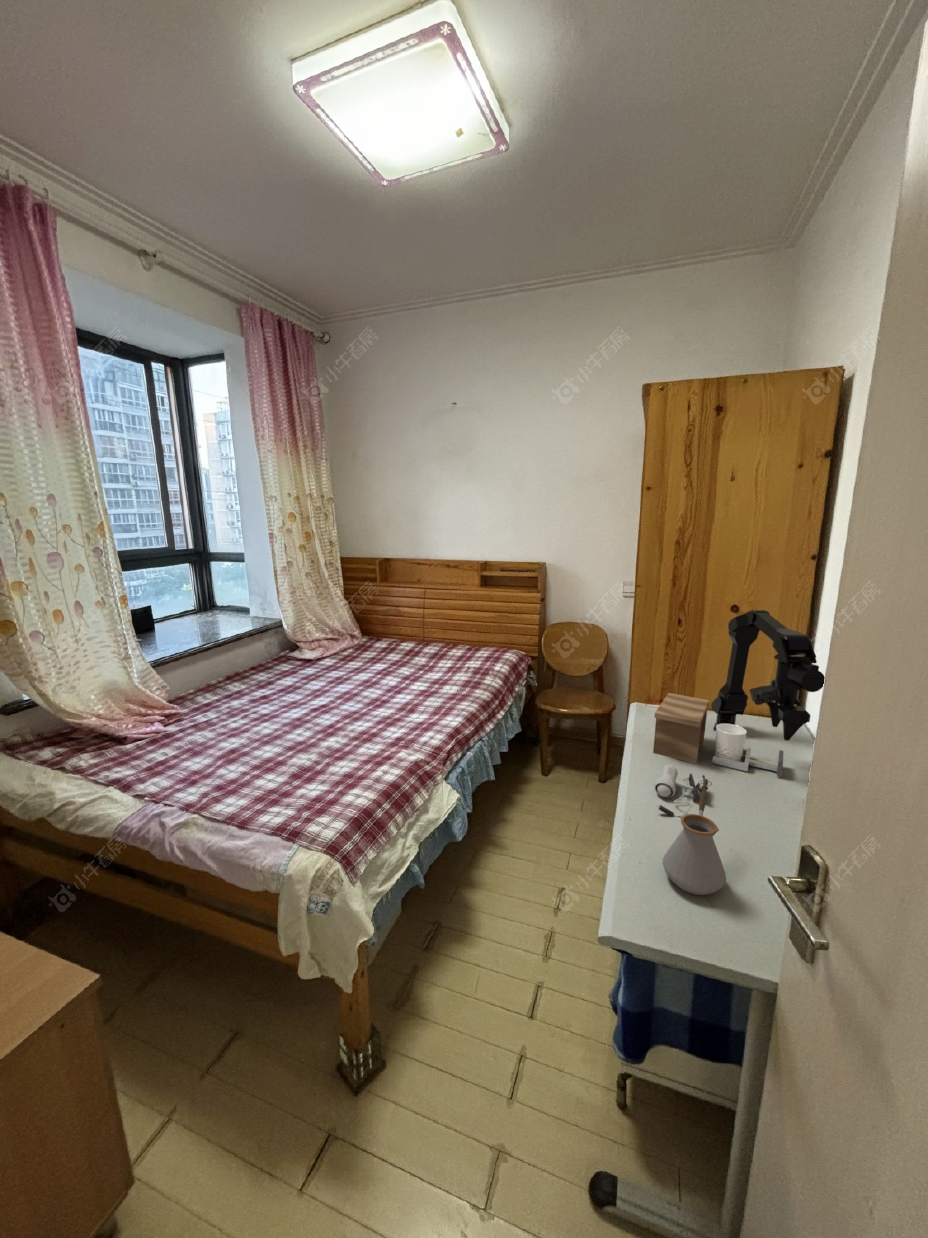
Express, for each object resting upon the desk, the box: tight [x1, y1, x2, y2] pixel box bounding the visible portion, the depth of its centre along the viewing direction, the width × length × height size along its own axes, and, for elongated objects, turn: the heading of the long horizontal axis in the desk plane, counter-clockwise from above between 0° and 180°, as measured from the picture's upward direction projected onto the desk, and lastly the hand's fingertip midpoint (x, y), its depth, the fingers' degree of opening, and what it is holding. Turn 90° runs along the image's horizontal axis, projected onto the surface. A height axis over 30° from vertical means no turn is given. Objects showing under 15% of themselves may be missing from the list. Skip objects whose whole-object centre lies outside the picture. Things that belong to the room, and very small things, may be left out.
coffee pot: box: [662, 778, 727, 896], centre depth 102 cm, size 21×12×15 cm, turn 150°
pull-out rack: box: [712, 747, 784, 778], centre depth 145 cm, size 11×17×4 cm, turn 57°
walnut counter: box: [652, 692, 710, 764], centre depth 154 cm, size 20×12×14 cm, turn 147°
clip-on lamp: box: [654, 764, 706, 818], centre depth 127 cm, size 12×6×18 cm
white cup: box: [714, 724, 748, 762], centre depth 147 cm, size 8×8×10 cm
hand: (780, 733), depth 138 cm, fingers open, 9 cm apart
